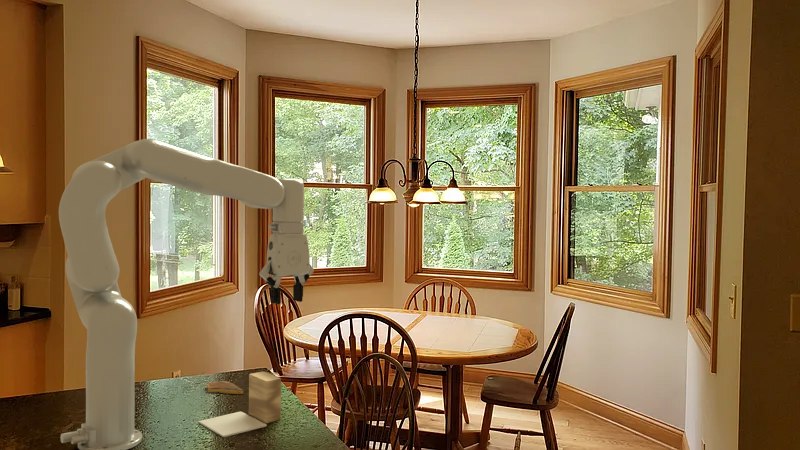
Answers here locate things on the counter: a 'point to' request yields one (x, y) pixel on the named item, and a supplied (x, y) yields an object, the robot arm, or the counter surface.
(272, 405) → the wood block
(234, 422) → the plastic mat
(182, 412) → the counter surface
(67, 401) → the counter surface
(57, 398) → the counter surface
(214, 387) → the shard
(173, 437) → the counter surface
